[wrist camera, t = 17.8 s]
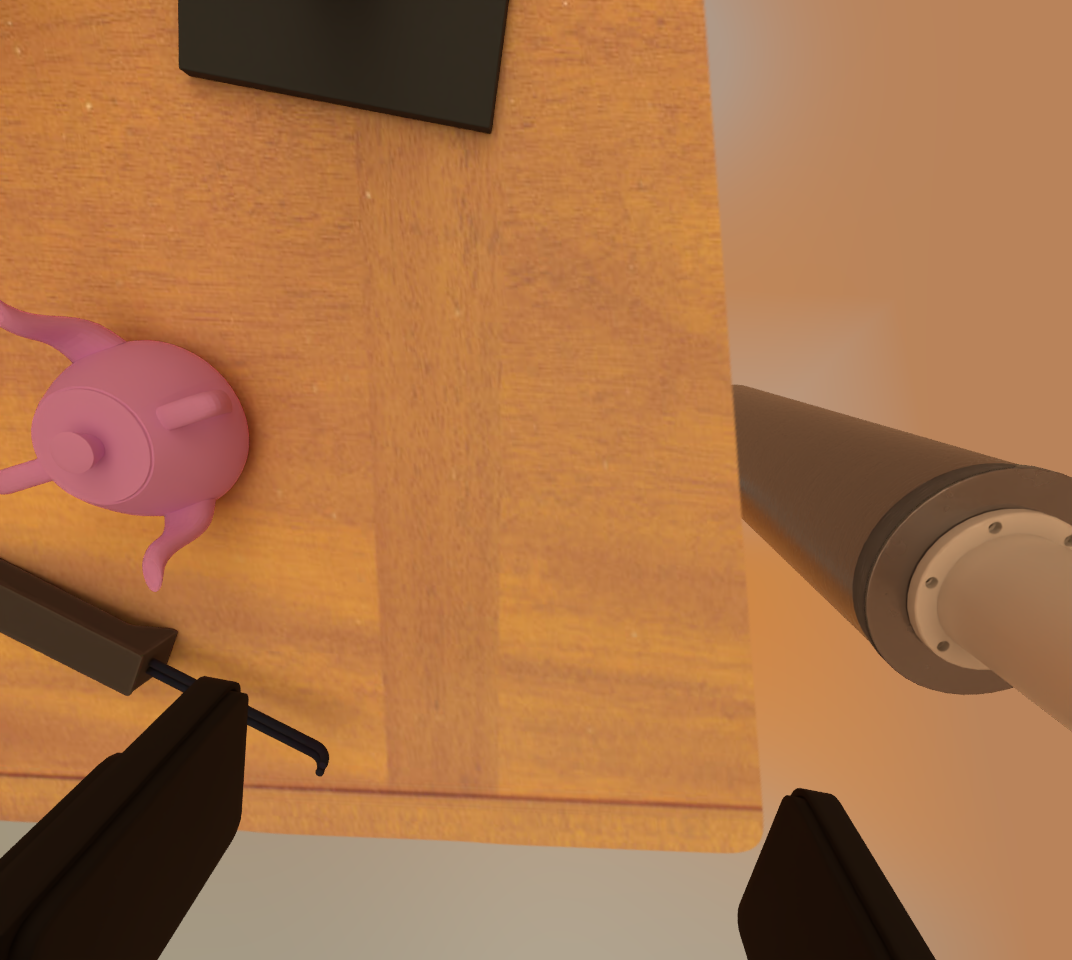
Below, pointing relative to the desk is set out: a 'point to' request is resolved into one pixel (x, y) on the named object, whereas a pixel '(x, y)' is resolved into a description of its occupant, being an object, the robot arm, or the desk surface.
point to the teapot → (132, 430)
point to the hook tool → (109, 647)
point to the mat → (355, 53)
